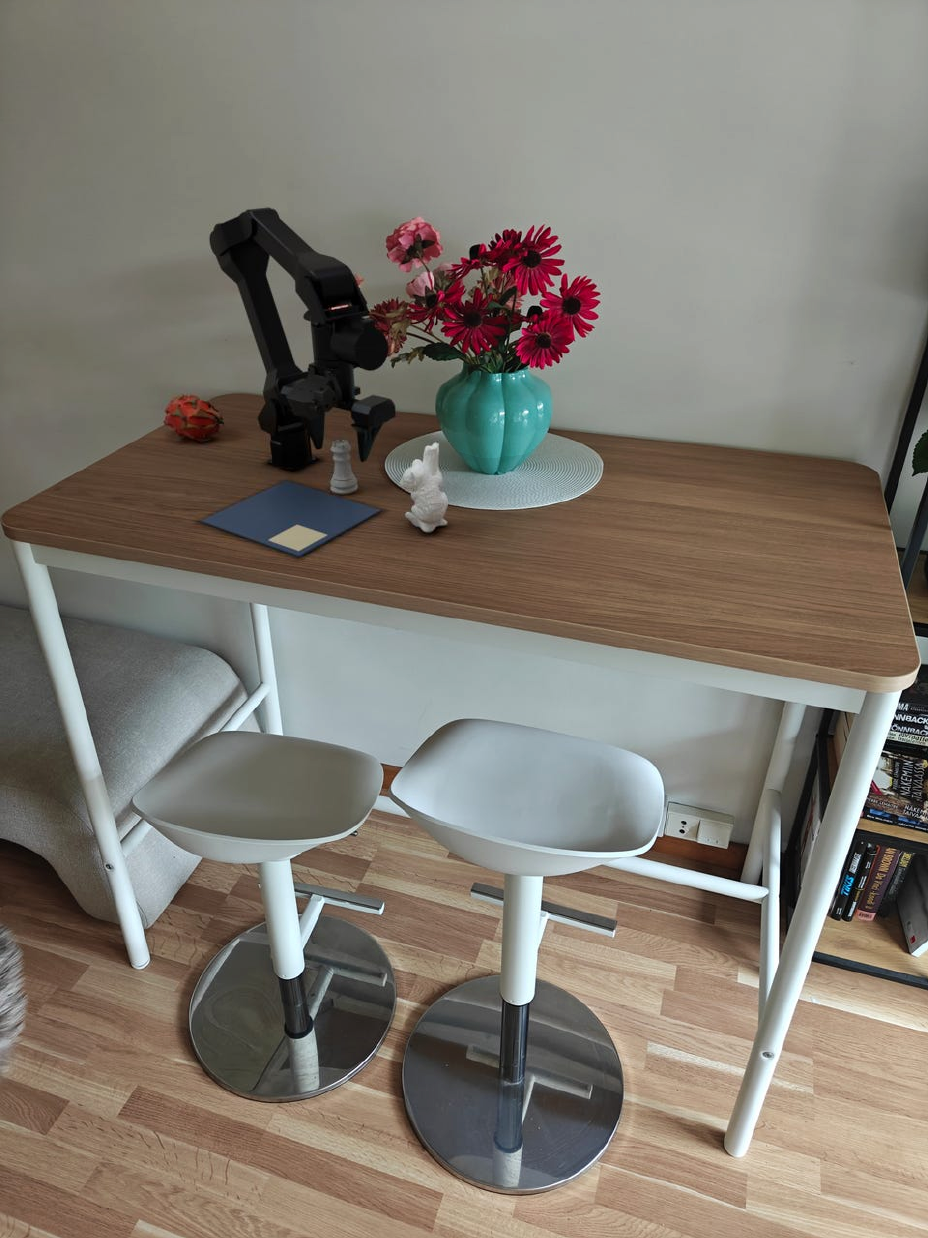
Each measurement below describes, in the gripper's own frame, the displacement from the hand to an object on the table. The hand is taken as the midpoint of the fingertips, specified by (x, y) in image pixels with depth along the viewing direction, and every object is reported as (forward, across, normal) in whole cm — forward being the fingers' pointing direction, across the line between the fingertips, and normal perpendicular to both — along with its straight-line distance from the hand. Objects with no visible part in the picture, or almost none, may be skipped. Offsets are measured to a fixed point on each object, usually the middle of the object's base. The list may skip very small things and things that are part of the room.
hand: (341, 454), depth 139 cm
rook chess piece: (+6, 0, 0) cm, 6 cm away
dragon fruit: (+6, -38, +3) cm, 39 cm away
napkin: (+6, 0, -12) cm, 13 cm away
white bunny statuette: (+6, +19, -3) cm, 20 cm away
